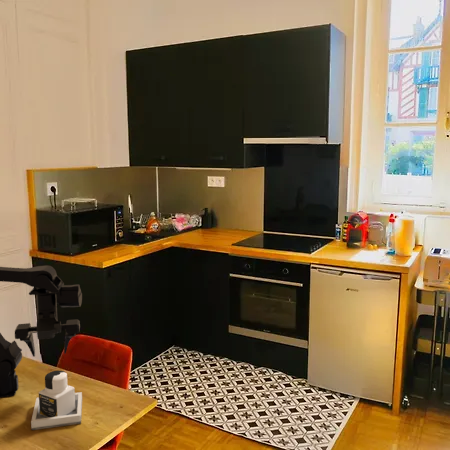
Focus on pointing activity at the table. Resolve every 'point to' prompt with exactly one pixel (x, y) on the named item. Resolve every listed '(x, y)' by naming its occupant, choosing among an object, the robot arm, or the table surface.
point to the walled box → (69, 419)
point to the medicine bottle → (56, 395)
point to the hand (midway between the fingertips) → (49, 354)
